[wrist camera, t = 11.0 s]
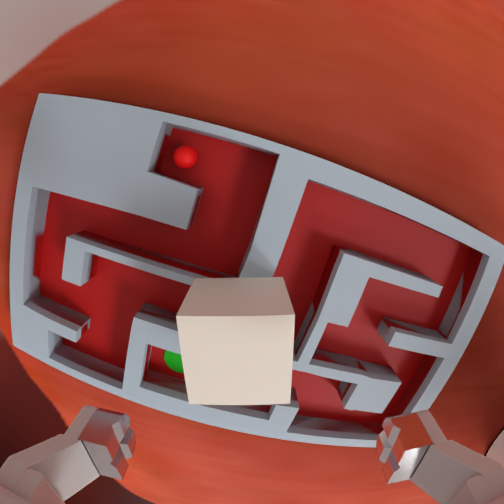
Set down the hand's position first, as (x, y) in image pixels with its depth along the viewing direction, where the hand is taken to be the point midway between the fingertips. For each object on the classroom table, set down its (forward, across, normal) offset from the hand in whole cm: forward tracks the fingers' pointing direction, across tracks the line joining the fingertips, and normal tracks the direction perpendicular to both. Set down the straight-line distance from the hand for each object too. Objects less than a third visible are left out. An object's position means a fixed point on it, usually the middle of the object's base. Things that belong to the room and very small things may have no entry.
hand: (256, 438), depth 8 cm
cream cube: (+10, +1, +1) cm, 10 cm away
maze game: (+14, +1, +1) cm, 14 cm away
